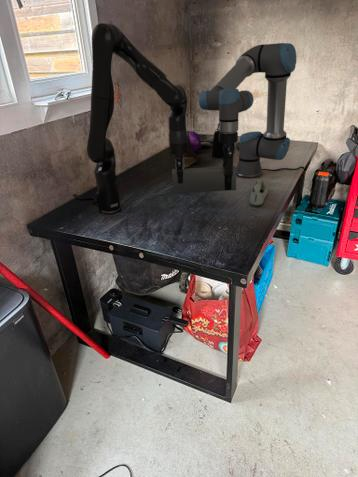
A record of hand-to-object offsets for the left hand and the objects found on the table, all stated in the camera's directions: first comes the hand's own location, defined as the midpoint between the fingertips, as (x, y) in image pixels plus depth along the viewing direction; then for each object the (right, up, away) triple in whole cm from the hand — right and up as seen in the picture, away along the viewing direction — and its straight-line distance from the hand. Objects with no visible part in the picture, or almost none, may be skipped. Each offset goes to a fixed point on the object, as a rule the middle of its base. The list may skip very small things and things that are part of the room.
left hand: (180, 180), depth 140 cm
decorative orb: (+7, +36, +94) cm, 101 cm away
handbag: (+30, +33, +86) cm, 97 cm away
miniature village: (+56, +43, +100) cm, 122 cm away
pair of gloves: (+23, +49, +114) cm, 126 cm away
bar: (+10, -3, +2) cm, 11 cm away
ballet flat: (+38, -5, +20) cm, 43 cm away
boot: (+6, +25, +74) cm, 78 cm away
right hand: (+20, -2, +1) cm, 20 cm away
